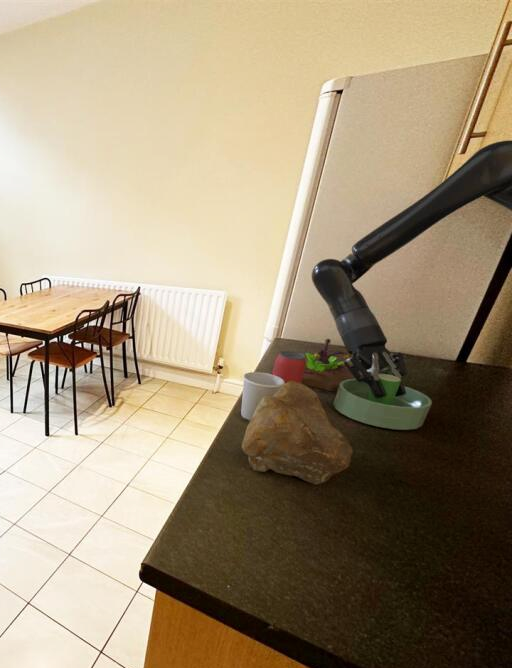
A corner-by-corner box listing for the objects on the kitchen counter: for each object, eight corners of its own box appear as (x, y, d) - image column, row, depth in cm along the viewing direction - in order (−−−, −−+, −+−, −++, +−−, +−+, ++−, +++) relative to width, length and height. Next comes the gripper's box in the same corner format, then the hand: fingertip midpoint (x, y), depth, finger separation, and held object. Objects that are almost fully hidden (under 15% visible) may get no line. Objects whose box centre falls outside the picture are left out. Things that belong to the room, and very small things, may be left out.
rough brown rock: (321, 518, 69) (360, 444, 63) (220, 470, 80) (244, 402, 73) (348, 464, 84) (382, 400, 77) (260, 429, 95) (283, 370, 88)
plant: (363, 374, 120) (376, 338, 116) (359, 398, 107) (373, 357, 103) (283, 360, 133) (292, 326, 128) (270, 379, 120) (280, 342, 115)
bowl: (372, 397, 107) (379, 376, 105) (441, 428, 93) (452, 404, 90) (316, 403, 105) (323, 381, 103) (378, 435, 91) (388, 411, 88)
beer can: (265, 390, 113) (276, 349, 108) (294, 394, 110) (306, 352, 106) (267, 400, 108) (278, 357, 103) (297, 404, 105) (310, 360, 100)
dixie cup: (282, 423, 97) (293, 384, 92) (248, 425, 96) (257, 386, 92) (259, 407, 104) (268, 370, 100) (227, 409, 104) (235, 372, 100)
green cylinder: (374, 406, 101) (387, 372, 97) (392, 415, 97) (407, 380, 93) (358, 408, 101) (371, 374, 97) (376, 416, 97) (390, 381, 93)
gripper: (347, 325, 97) (379, 393, 91) (399, 321, 98) (435, 388, 92) (321, 340, 104) (349, 404, 98) (371, 336, 105) (402, 399, 99)
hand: (391, 396), depth 95 cm, fingers closed on green cylinder, 4 cm apart
